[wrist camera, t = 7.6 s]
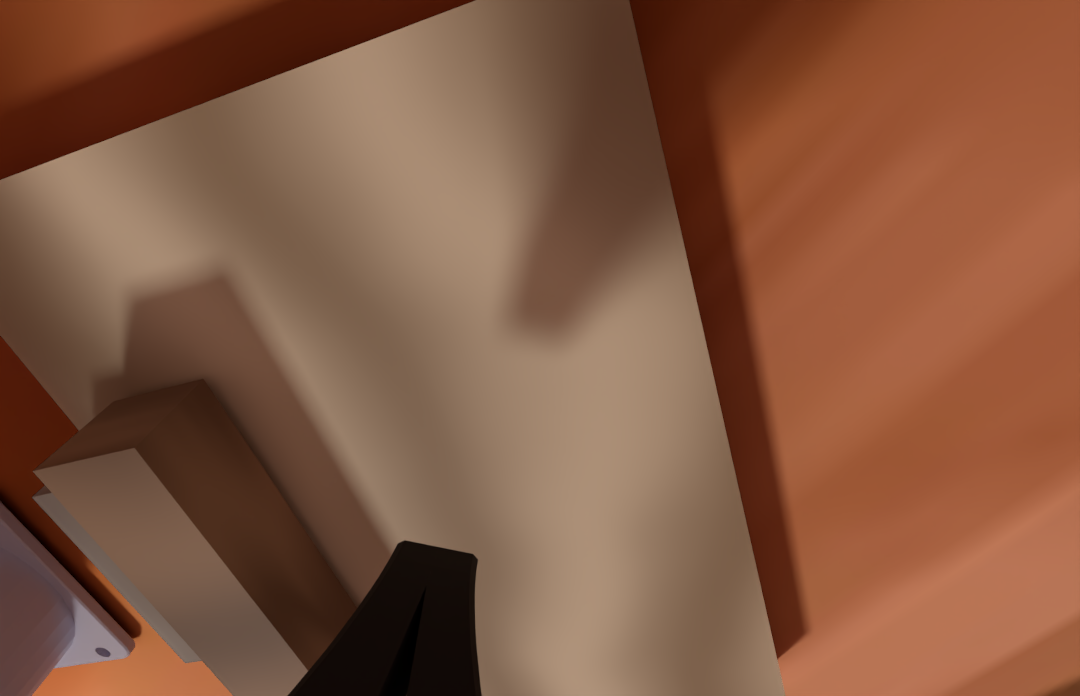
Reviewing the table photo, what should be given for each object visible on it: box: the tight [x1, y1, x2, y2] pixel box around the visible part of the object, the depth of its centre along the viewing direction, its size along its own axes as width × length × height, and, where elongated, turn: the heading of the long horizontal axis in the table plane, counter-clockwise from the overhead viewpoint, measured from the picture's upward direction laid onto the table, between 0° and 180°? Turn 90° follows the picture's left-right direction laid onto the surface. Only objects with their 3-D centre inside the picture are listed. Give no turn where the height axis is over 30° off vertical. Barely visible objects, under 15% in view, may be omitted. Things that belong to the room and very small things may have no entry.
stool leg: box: [33, 379, 357, 696], centre depth 16 cm, size 13×2×2 cm, turn 18°
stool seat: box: [0, 0, 785, 696], centre depth 16 cm, size 15×20×4 cm
